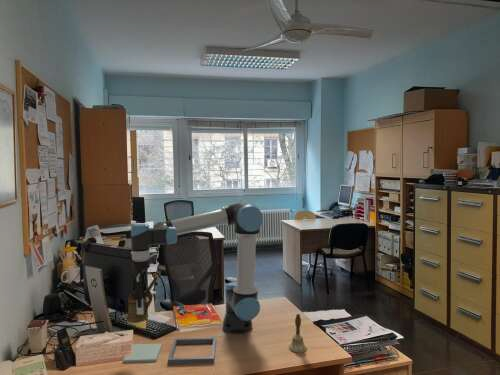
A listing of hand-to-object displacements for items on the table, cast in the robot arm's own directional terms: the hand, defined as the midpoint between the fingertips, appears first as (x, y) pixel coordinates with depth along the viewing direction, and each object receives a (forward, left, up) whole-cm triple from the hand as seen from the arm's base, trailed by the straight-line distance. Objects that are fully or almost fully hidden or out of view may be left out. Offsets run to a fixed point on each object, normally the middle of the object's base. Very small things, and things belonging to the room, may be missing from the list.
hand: (142, 310), depth 171 cm
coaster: (0, 0, -20) cm, 20 cm away
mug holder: (-22, 0, -20) cm, 29 cm away
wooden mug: (0, 0, -4) cm, 4 cm away
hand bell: (-69, -1, -20) cm, 72 cm away
